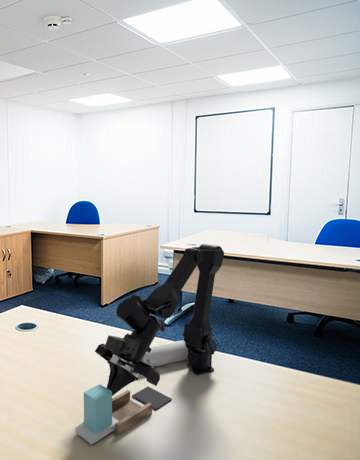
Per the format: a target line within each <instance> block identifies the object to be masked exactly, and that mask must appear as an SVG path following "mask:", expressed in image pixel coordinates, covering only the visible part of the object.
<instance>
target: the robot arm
mask: <svg viewBox="0 0 360 460" xmlns="http://www.w3.org/2000/svg"><path fill="white" fill-rule="evenodd" d="M224 259H225V251H224V250H223V248H222V247H221V246H220V245H215V244H213V245H212V244H207V243H202V244H200V245H199V246H193V247H187V248H185V249H184V251H183V255H182V257H181V258H180V260H179V261H178V263H177V264H176V266H175V267H174V269H173V270H172V272H171V273H170V275H169V276H168V277H167V279H166V280H165V282H164V283H163V284H162V285H160V286H157V288H155V289H154V290H153V291H151V293H150V294H149V295H148V296H147V297H146V298H144V299H142V298H141V297H140V296H139V295H137V294H135V293H133V294H132V295H131V296H130V297H128V298H125V299H124V300H122V301H121V302H120V303H119V304H118V305H117V308H116V316H117V317H118V318H119V319H120V320H121V321H122V322H124V324H126V325H127V326H128V328H130V329H132V332H130V334H129V333H126V334H125V335H124V337H120V336H114V335H111V334H110V335H107V336H108V337H107V339H106V342H105V343H99V344H98V345H97V347H96V349H95V350H94V352H95V353H96V354H97V355H99V356H100V357H101V359H102V358H103V359H104V360H105V361H106V362H107V364H108V365H109V375H108V376H109V377H108V381H107V385H106V388H107V389H109V390H111V391H112V397H113V396H115V394H117V393H119V392H120V391H121V390H122V389H123V388H125V387H127V386H128V385H129V384H131V383H133V382H135V381H139V378H138V377H139V375H141V376H142V377H144V378H145V379H146V381H147V382H148V383H149V384H151V385H153V386H155V387H157V386H158V384H159V382H160V381H161V373H160V372H159V371H158V370H157V369H156V368H154V367H152V366H150V365H148V364H146V363H144V362H142V359H143V357H144V355H145V354H146V352H149V353H150V351H151V350H152V349H151V348H150V346H152V343H153V341H154V340H155V337H156V336H157V334H158V332H159V331H161V332H165V331H166V329H165V325H164V321H163V320H162V319H164V320H165V319H171V317H173V315H174V313H175V312H176V309H177V307H178V305H179V295H180V293H181V291H182V290H183V289H184V287H185V286H186V283H187V282H188V281H189V279H190V277H191V275H192V274H193V272H194V271H195V269H196V268H198V269H197V270H198V271H199V273H198V279H197V285H196V292H195V298H194V306H193V311H192V318H191V319H190V320H189V321H188V322H185V323H184V327H183V328H184V329H183V334H182V336H183V340H184V341H185V345H186V348H189V349H190V354H189V359H188V363H187V367H188V368H189V369H190V370H191V371H192V372H193V373H194V374H195V375H201V374H205V373H209V372H213V371H215V368H214V367H213V365H212V363H213V362H212V360H213V355H215V352H217V348H218V344H217V342H216V341H215V340H214V339H213V337H212V336H213V335H212V334H213V329H212V326H211V324H210V321H209V320H210V319H209V318H210V311H211V303H212V296H213V290H214V283H215V277H216V274H217V272H218V271H219V270H220V269H221V267H222V265H223V261H224ZM156 317H159V318H162V319H158V318H156Z"/></svg>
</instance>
